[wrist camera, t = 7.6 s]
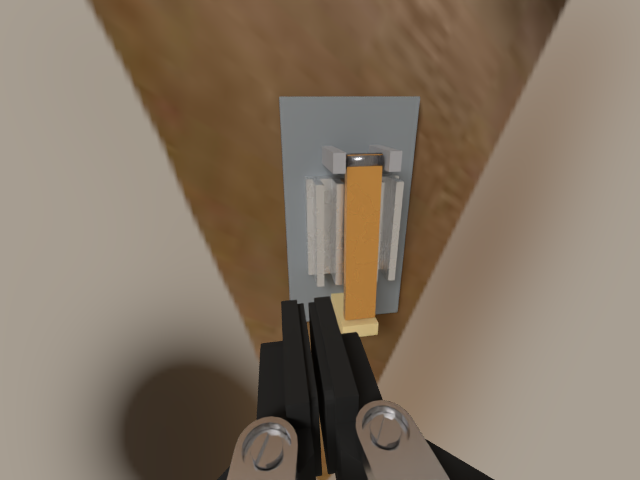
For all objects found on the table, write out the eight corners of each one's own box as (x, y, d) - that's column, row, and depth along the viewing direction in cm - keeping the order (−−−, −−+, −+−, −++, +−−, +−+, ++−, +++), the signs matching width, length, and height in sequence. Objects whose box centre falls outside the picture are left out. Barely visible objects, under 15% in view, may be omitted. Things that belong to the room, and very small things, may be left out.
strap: (344, 153, 26) (347, 153, 24) (379, 152, 26) (383, 152, 25) (342, 314, 31) (345, 321, 30) (371, 311, 31) (375, 318, 30)
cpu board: (279, 97, 28) (282, 92, 21) (415, 97, 29) (456, 92, 23) (290, 317, 37) (295, 360, 30) (394, 307, 39) (419, 345, 32)
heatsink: (304, 176, 30) (309, 185, 26) (393, 173, 31) (410, 181, 27) (306, 268, 34) (311, 287, 30) (386, 262, 35) (399, 279, 31)
